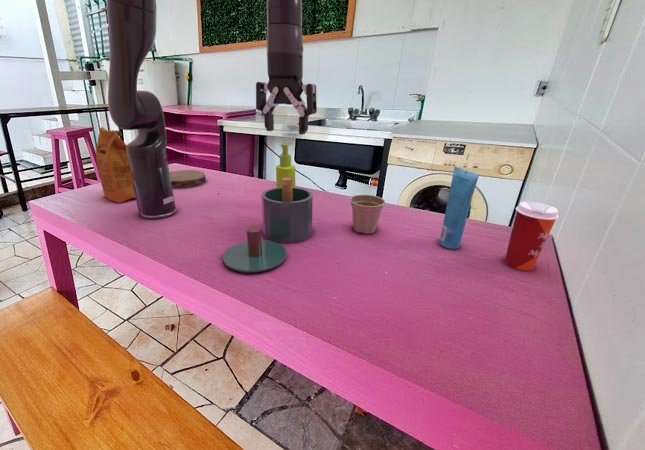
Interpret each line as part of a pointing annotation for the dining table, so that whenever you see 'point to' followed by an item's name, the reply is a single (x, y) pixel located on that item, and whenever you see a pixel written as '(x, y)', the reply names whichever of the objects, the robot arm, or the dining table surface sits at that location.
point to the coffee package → (114, 166)
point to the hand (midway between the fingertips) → (286, 132)
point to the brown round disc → (187, 179)
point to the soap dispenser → (285, 167)
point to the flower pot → (366, 212)
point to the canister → (287, 215)
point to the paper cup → (529, 234)
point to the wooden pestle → (287, 190)
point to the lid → (254, 253)
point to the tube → (457, 207)
